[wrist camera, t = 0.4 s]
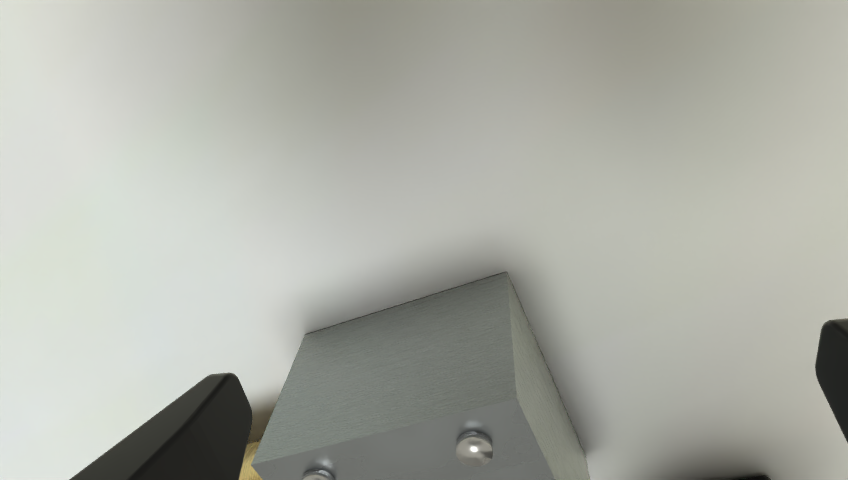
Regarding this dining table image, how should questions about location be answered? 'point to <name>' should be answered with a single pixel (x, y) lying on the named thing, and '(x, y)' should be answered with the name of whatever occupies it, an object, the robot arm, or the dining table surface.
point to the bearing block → (424, 397)
